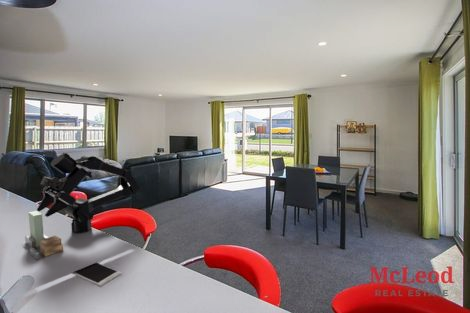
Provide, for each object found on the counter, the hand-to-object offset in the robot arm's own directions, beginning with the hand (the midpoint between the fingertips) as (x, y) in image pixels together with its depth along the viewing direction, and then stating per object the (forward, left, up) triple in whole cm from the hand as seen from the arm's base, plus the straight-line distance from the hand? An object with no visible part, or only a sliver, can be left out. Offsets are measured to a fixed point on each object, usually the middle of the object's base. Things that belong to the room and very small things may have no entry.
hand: (41, 213), depth 93 cm
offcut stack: (-8, +7, -11) cm, 16 cm away
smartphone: (-29, +20, -13) cm, 37 cm away
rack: (-3, +5, -12) cm, 13 cm away
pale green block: (+1, +2, -11) cm, 11 cm away
